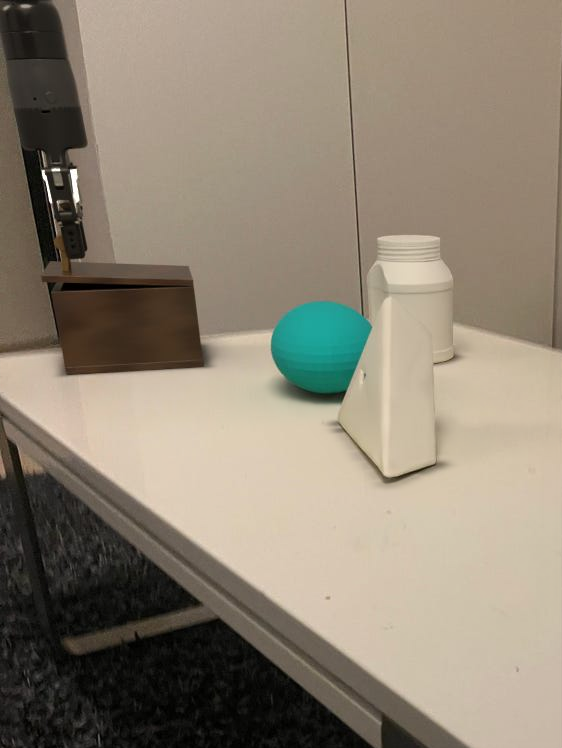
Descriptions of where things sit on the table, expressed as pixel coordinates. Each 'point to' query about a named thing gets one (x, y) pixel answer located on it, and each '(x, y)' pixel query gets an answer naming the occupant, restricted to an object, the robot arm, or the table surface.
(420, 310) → the jar
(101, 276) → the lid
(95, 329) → the chest
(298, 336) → the toy
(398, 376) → the white wedge
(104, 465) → the table surface
